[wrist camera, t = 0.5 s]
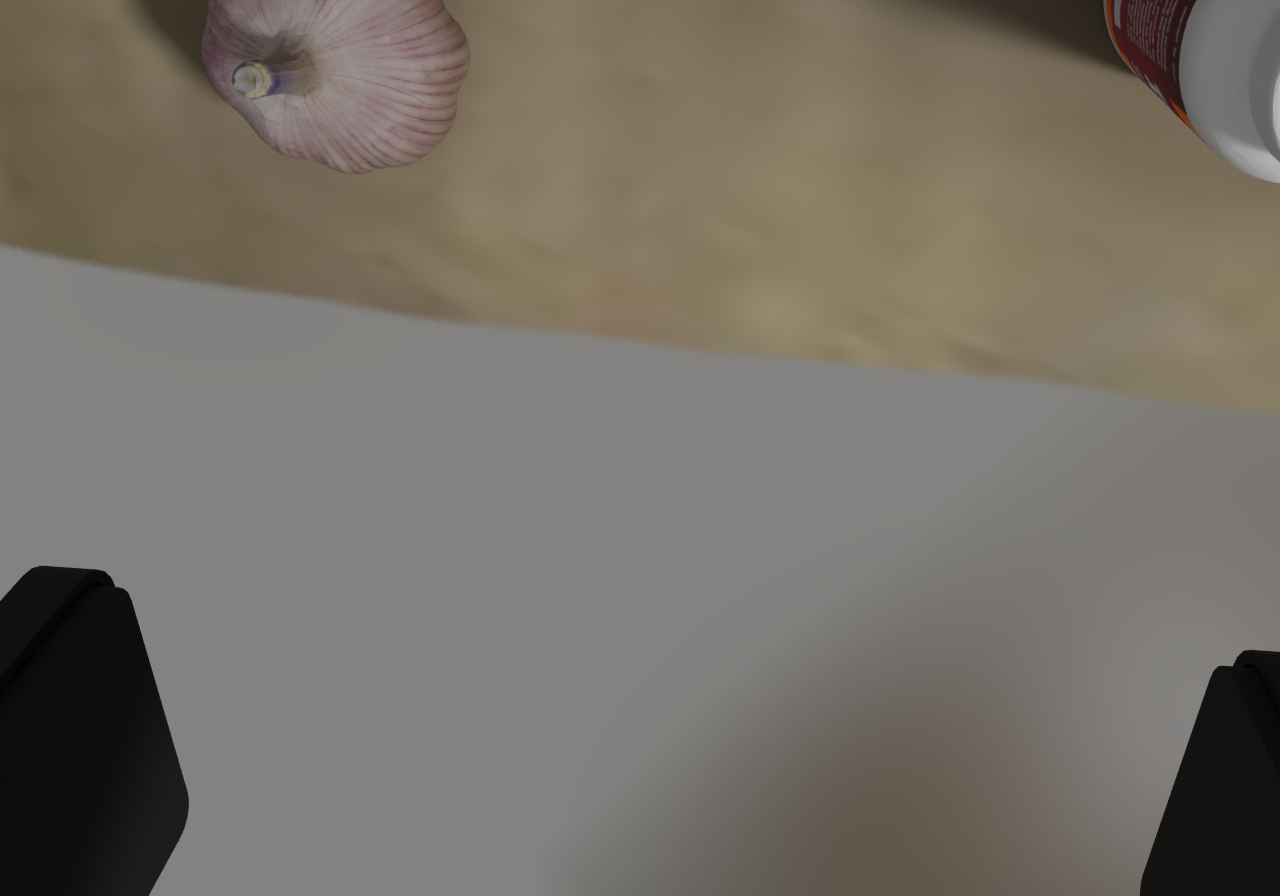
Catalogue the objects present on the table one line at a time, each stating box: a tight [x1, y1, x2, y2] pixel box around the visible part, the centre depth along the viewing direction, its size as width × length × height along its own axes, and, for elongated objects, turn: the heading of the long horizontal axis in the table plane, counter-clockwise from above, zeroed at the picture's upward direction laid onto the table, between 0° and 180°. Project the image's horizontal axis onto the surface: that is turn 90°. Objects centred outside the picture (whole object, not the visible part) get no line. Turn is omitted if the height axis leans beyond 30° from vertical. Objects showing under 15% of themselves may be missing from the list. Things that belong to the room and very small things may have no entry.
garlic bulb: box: [201, 0, 470, 174], centre depth 31 cm, size 8×7×8 cm
